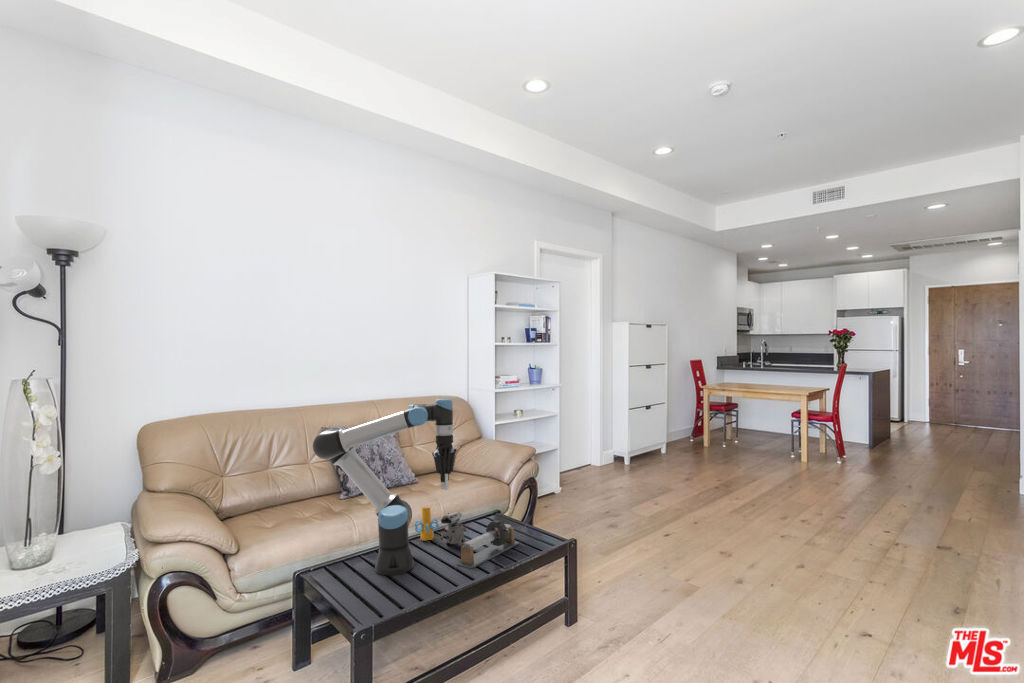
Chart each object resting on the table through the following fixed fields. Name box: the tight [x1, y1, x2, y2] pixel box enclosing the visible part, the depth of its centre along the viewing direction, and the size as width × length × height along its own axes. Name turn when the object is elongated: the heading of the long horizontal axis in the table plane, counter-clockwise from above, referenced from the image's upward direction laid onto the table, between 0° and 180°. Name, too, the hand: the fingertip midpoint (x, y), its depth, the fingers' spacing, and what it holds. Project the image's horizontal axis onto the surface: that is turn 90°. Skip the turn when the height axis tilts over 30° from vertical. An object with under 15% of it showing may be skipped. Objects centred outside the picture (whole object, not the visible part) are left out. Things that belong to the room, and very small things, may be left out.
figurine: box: [440, 511, 467, 550], centre depth 228 cm, size 9×12×15 cm
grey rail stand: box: [456, 523, 519, 569], centre depth 219 cm, size 32×8×9 cm, turn 144°
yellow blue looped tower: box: [414, 505, 440, 540], centre depth 241 cm, size 12×10×15 cm
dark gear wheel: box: [485, 519, 508, 546], centre depth 224 cm, size 2×10×10 cm, turn 54°
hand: (444, 489), depth 224 cm, fingers closed
